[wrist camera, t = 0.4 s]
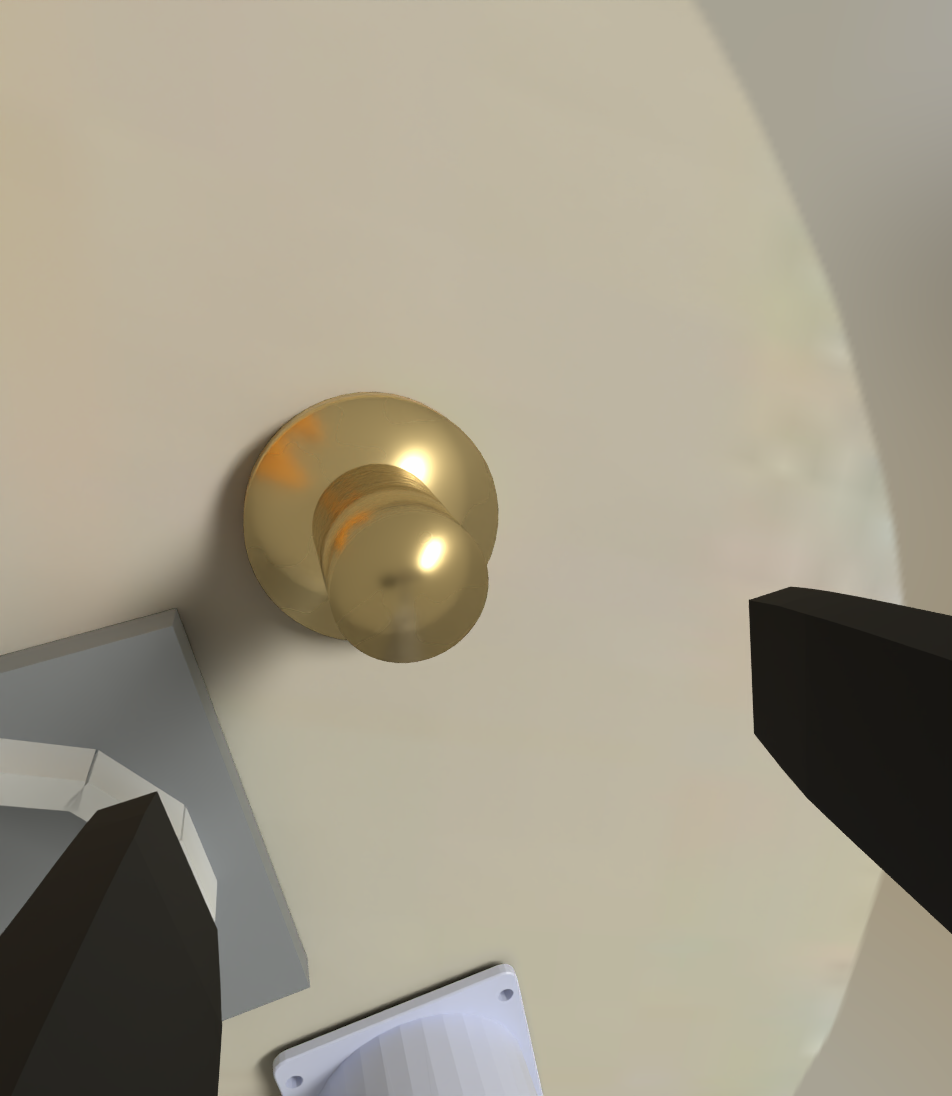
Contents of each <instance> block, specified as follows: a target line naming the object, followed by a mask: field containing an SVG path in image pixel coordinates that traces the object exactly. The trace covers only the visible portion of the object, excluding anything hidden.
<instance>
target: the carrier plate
mask: <svg viewBox="0 0 952 1096" xmlns="http://www.w3.org/2000/svg"><path fill="white" fill-rule="evenodd" d="M156 791H157V792H158V794H159V796H160V799H161V801H162V803H163V806H164V808H165V810H166V812H167V815H168V817H169V819H170V822H171V824H172V826H173V828H174V831H175V833H176V835H177V838H178V840H179V842H180V845H181V847H182V849H183V851H184V854H185V856H186V858H187V861H188V863H189V865H190V867H191V870H192V872H193V874H194V877H195V879H196V881H197V883H198V886H199V888H200V890H201V893H202V895H203V897H204V900H205V902H206V904H207V906H208V909H209V911H210V913H211V916H212V918H213V920H214V922H215V925H216V927H217V929H218V947H219V964H220V983H221V1011H222V1021H224V1020H226V1019H229V1018H232V1017H234V1016H237V1015H239V1014H242V1013H245V1012H247V1011H250V1010H252V1009H255V1008H258V1007H260V1006H263V1005H265V1004H268V1003H270V1002H273V1001H276V1000H278V999H281V998H283V997H286V996H289V995H291V994H294V993H296V992H299V991H302V990H304V989H307V988H309V987H310V983H309V971H308V960H307V956H306V953H305V951H304V948H303V945H302V943H301V940H300V937H299V935H298V932H297V929H296V927H295V924H294V921H293V919H292V916H291V913H290V911H289V908H288V905H287V903H286V900H285V897H284V895H283V892H282V889H281V887H280V884H279V881H278V879H277V876H276V873H275V871H274V868H273V865H272V863H271V860H270V857H269V854H268V852H267V849H266V846H265V844H264V841H263V838H262V836H261V833H260V830H259V828H258V825H257V822H256V820H255V817H254V814H253V812H252V809H251V806H250V804H249V801H248V798H247V796H246V793H245V790H244V788H243V785H242V782H241V780H240V777H239V774H238V772H237V769H236V766H235V764H234V761H233V758H232V756H231V753H230V750H229V748H228V745H227V742H226V740H225V737H224V734H223V732H222V729H221V726H220V724H219V721H218V718H217V715H216V713H215V710H214V707H213V705H212V702H211V699H210V697H209V694H208V691H207V689H206V686H205V683H204V681H203V678H202V675H201V673H200V670H199V667H198V665H197V662H196V659H195V657H194V654H193V651H192V649H191V646H190V643H189V641H188V638H187V635H186V633H185V630H184V627H183V625H182V622H181V619H180V617H179V614H178V611H177V609H176V608H175V609H171V610H167V611H164V612H160V613H156V614H153V615H149V616H145V617H142V618H138V619H134V620H131V621H127V622H123V623H120V624H116V625H112V626H109V627H105V628H101V629H98V630H94V631H90V632H86V633H83V634H79V635H75V636H72V637H68V638H64V639H61V640H57V641H53V642H50V643H46V644H42V645H39V646H35V647H31V648H28V649H24V650H20V651H16V652H13V653H9V654H5V655H2V656H0V935H1V934H2V933H3V932H4V930H5V929H6V928H7V926H8V925H9V924H10V922H11V921H12V920H13V919H14V917H15V916H16V915H17V913H18V912H19V911H20V909H21V908H22V907H23V906H24V904H25V903H26V902H27V900H28V899H29V898H30V896H31V895H32V894H33V892H34V891H35V890H36V888H37V887H38V886H39V884H40V883H41V882H42V880H43V879H44V878H45V876H46V875H47V874H48V872H49V871H50V870H51V868H52V867H53V866H54V864H55V863H56V862H57V860H58V859H59V858H60V856H61V855H62V854H63V853H64V851H65V850H66V849H67V847H68V846H69V845H70V843H71V842H72V841H73V839H74V838H75V837H76V836H77V834H78V833H79V832H80V831H81V829H82V828H83V827H84V826H85V824H86V823H87V822H88V821H89V820H90V818H91V817H92V816H93V815H94V814H95V812H96V811H97V810H100V809H103V808H106V807H109V806H112V805H115V804H118V803H122V802H125V801H128V800H131V799H134V798H137V797H140V796H143V795H146V794H149V793H153V792H156Z"/></svg>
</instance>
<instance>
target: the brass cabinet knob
mask: <svg viewBox="0 0 952 1096" xmlns="http://www.w3.org/2000/svg"><path fill="white" fill-rule="evenodd" d="M243 528H244V539H245V546H246V550H247V554H248V558H249V562H250V564H251V567H252V569H253V572H254V574H255V576H256V578H257V580H258V581H259V583H260V585H261V586H262V588H263V590H264V591H265V592H266V594H267V595H268V596H269V597H270V599H271V600H272V601H273V602H274V603H275V604H276V605H277V606H278V607H279V608H280V609H281V610H282V611H283V612H284V613H285V614H287V615H288V616H289V617H291V618H292V619H294V620H295V621H296V622H298V623H300V624H301V625H303V626H305V627H307V628H309V629H310V630H313V631H315V632H318V633H320V634H323V635H326V636H329V637H333V638H337V639H341V640H348V641H349V642H350V643H351V644H352V645H353V646H354V647H356V648H357V649H358V650H360V651H361V652H363V653H365V654H367V655H368V656H371V657H373V658H376V659H379V660H383V661H387V662H394V663H410V662H418V661H422V660H426V659H429V658H432V657H435V656H437V655H439V654H441V653H443V652H445V651H447V650H448V649H450V648H451V647H453V646H454V645H456V644H457V643H458V642H459V641H461V640H462V639H463V638H464V637H465V636H466V635H467V634H468V633H469V631H470V630H471V629H472V627H473V626H474V625H475V623H476V622H477V620H478V618H479V617H480V615H481V612H482V610H483V608H484V605H485V601H486V598H487V592H488V570H487V564H488V561H489V559H490V557H491V554H492V551H493V547H494V544H495V540H496V534H497V528H498V502H497V494H496V490H495V485H494V481H493V478H492V476H491V473H490V470H489V468H488V465H487V464H486V462H485V460H484V458H483V456H482V455H481V453H480V451H479V450H478V449H477V447H476V446H475V445H474V443H473V442H472V441H471V439H470V438H469V437H468V436H467V435H466V434H465V433H464V432H463V431H462V430H461V429H460V428H459V427H457V426H456V425H455V424H454V423H452V422H451V421H450V420H448V419H447V418H446V417H444V416H443V415H441V414H440V413H438V412H437V411H435V410H433V409H431V408H430V407H428V406H426V405H424V404H422V403H420V402H417V401H415V400H412V399H410V398H407V397H403V396H399V395H395V394H389V393H380V392H358V393H352V394H345V395H340V396H337V397H334V398H330V399H327V400H324V401H322V402H320V403H317V404H315V405H313V406H311V407H309V408H307V409H306V410H304V411H302V412H301V413H299V414H297V415H296V416H294V417H293V418H292V419H291V420H290V421H288V422H287V423H286V424H285V425H283V426H282V427H281V428H280V429H279V430H278V432H277V433H276V434H275V435H274V436H273V437H272V438H271V439H270V440H269V442H268V443H267V445H266V446H265V448H264V449H263V450H262V452H261V453H260V455H259V457H258V459H257V461H256V463H255V465H254V467H253V469H252V472H251V475H250V478H249V481H248V484H247V489H246V494H245V499H244V523H243Z"/></svg>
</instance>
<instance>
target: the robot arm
mask: <svg viewBox="0 0 952 1096" xmlns="http://www.w3.org/2000/svg"><path fill="white" fill-rule="evenodd" d="M749 617H750V642H751V668H752V693H753V718H754V734H755V735H756V737H757V738H758V739H759V740H760V742H761V743H762V744H763V745H764V747H765V748H766V749H767V750H768V752H769V753H770V754H771V755H772V757H773V758H774V759H775V760H776V762H777V763H778V764H779V766H780V767H781V768H782V769H783V770H784V772H785V773H786V774H787V775H788V776H789V777H790V779H791V780H792V781H793V782H794V783H795V784H796V786H797V787H798V788H799V789H800V790H801V791H802V793H803V794H804V795H805V796H806V797H807V798H808V799H809V800H810V801H811V802H812V803H813V804H814V805H815V806H816V807H817V808H818V809H819V810H820V811H821V812H822V813H823V814H824V815H825V816H826V817H827V818H828V819H829V820H831V821H832V822H833V823H834V824H835V825H836V826H837V827H838V828H839V829H840V830H841V831H842V832H843V833H844V834H845V835H846V836H847V837H848V838H849V839H851V840H852V841H853V842H854V843H855V844H856V845H857V846H858V847H859V848H860V849H861V850H862V851H863V852H864V853H865V854H867V855H868V856H869V857H870V858H871V859H872V860H873V861H874V862H875V863H876V864H877V865H878V866H879V867H880V868H882V869H883V870H884V871H885V872H886V873H887V874H888V875H889V876H891V878H892V879H893V880H894V881H896V882H897V883H898V884H899V885H900V886H901V887H902V888H903V889H904V890H905V891H906V892H907V893H908V894H910V895H911V896H912V897H913V898H914V899H915V900H916V901H917V902H918V903H919V904H920V905H921V906H922V907H924V908H925V909H926V910H927V911H928V912H929V913H930V914H931V915H932V916H933V917H934V918H935V919H936V920H938V921H939V922H940V923H941V924H942V925H943V926H944V927H945V928H946V929H947V930H948V931H949V932H950V933H951V934H952V616H950V615H945V614H940V613H935V612H931V611H926V610H921V609H916V608H911V607H906V606H901V605H897V604H892V603H887V602H882V601H877V600H872V599H867V598H862V597H857V596H851V595H846V594H841V593H835V592H829V591H823V590H816V589H809V588H799V587H788V588H785V589H782V590H779V591H776V592H773V593H770V594H766V595H763V596H760V597H757V598H754V599H751V600H749ZM221 1035H222V1011H221V983H220V964H219V947H218V929H217V927H216V925H215V922H214V920H213V918H212V916H211V913H210V911H209V909H208V906H207V904H206V902H205V900H204V897H203V895H202V893H201V890H200V888H199V886H198V883H197V881H196V879H195V877H194V874H193V872H192V870H191V867H190V865H189V863H188V861H187V858H186V856H185V854H184V851H183V849H182V847H181V845H180V842H179V840H178V838H177V835H176V833H175V831H174V828H173V826H172V824H171V822H170V819H169V817H168V815H167V812H166V810H165V808H164V806H163V803H162V801H161V799H160V796H159V794H158V792H157V791H156V792H153V793H149V794H146V795H143V796H140V797H137V798H134V799H131V800H128V801H125V802H122V803H118V804H115V805H112V806H109V807H106V808H103V809H100V810H97V811H96V812H95V814H94V815H93V816H92V817H91V818H90V820H89V821H88V822H87V823H86V824H85V826H84V827H83V828H82V829H81V831H80V832H79V833H78V834H77V836H76V837H75V838H74V839H73V841H72V842H71V843H70V845H69V846H68V847H67V849H66V850H65V851H64V853H63V854H62V855H61V856H60V858H59V859H58V860H57V862H56V863H55V864H54V866H53V867H52V868H51V870H50V871H49V872H48V874H47V875H46V876H45V878H44V879H43V880H42V882H41V883H40V884H39V886H38V887H37V888H36V890H35V891H34V892H33V894H32V895H31V896H30V898H29V899H28V900H27V902H26V903H25V904H24V906H23V907H22V908H21V909H20V911H19V912H18V913H17V915H16V916H15V917H14V919H13V920H12V921H11V922H10V924H9V925H8V926H7V928H6V929H5V930H4V932H3V933H2V934H1V935H0V1096H218V1081H219V1067H220V1052H221ZM273 1075H274V1079H275V1081H276V1083H277V1086H278V1088H279V1090H280V1093H281V1095H282V1096H543V1093H542V1089H541V1084H540V1080H539V1075H538V1070H537V1066H536V1061H535V1057H534V1052H533V1048H532V1043H531V1038H530V1034H529V1029H528V1025H527V1020H526V1016H525V1011H524V1006H523V1002H522V997H521V993H520V988H519V984H518V979H517V976H516V973H515V971H514V969H513V967H512V966H511V965H509V964H500V965H496V966H494V967H491V968H489V969H486V970H484V971H481V972H479V973H476V974H474V975H471V976H469V977H466V978H464V979H461V980H459V981H456V982H454V983H451V984H449V985H446V986H444V987H441V988H439V989H437V990H434V991H432V992H429V993H427V994H424V995H422V996H419V997H417V998H414V999H412V1000H409V1001H407V1002H404V1003H402V1004H399V1005H397V1006H394V1007H392V1008H389V1009H387V1010H384V1011H382V1012H379V1013H377V1014H374V1015H372V1016H369V1017H367V1018H364V1019H362V1020H359V1021H357V1022H354V1023H352V1024H349V1025H347V1026H344V1027H342V1028H339V1029H337V1030H334V1031H332V1032H329V1033H327V1034H324V1035H322V1036H319V1037H317V1038H314V1039H312V1040H309V1041H307V1042H304V1043H302V1044H299V1045H297V1046H294V1047H292V1048H289V1049H287V1050H285V1051H283V1052H281V1053H280V1054H279V1055H278V1056H277V1057H276V1058H275V1059H274V1062H273Z"/></svg>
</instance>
